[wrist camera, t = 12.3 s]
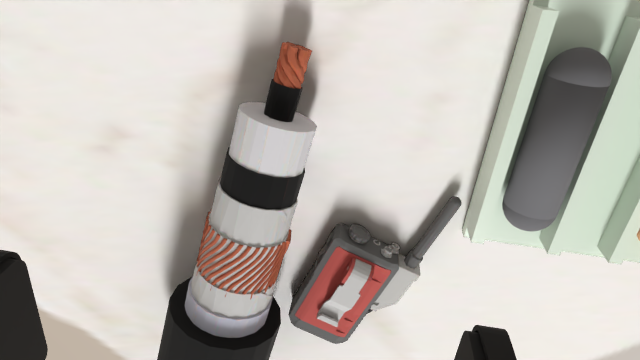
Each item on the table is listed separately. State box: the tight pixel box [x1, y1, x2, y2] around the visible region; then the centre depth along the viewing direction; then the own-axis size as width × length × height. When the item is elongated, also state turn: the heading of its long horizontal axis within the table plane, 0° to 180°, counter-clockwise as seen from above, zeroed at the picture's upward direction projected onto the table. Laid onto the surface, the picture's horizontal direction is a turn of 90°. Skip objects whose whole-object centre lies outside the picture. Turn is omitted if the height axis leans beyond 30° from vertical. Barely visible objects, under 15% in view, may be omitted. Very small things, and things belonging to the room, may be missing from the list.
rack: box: [462, 0, 640, 264], centre depth 34 cm, size 20×18×3 cm
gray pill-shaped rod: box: [502, 47, 612, 232], centre depth 33 cm, size 14×4×4 cm, turn 174°
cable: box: [157, 42, 317, 360], centre depth 39 cm, size 10×34×10 cm, turn 161°
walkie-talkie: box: [289, 197, 461, 344], centre depth 42 cm, size 9×4×20 cm
